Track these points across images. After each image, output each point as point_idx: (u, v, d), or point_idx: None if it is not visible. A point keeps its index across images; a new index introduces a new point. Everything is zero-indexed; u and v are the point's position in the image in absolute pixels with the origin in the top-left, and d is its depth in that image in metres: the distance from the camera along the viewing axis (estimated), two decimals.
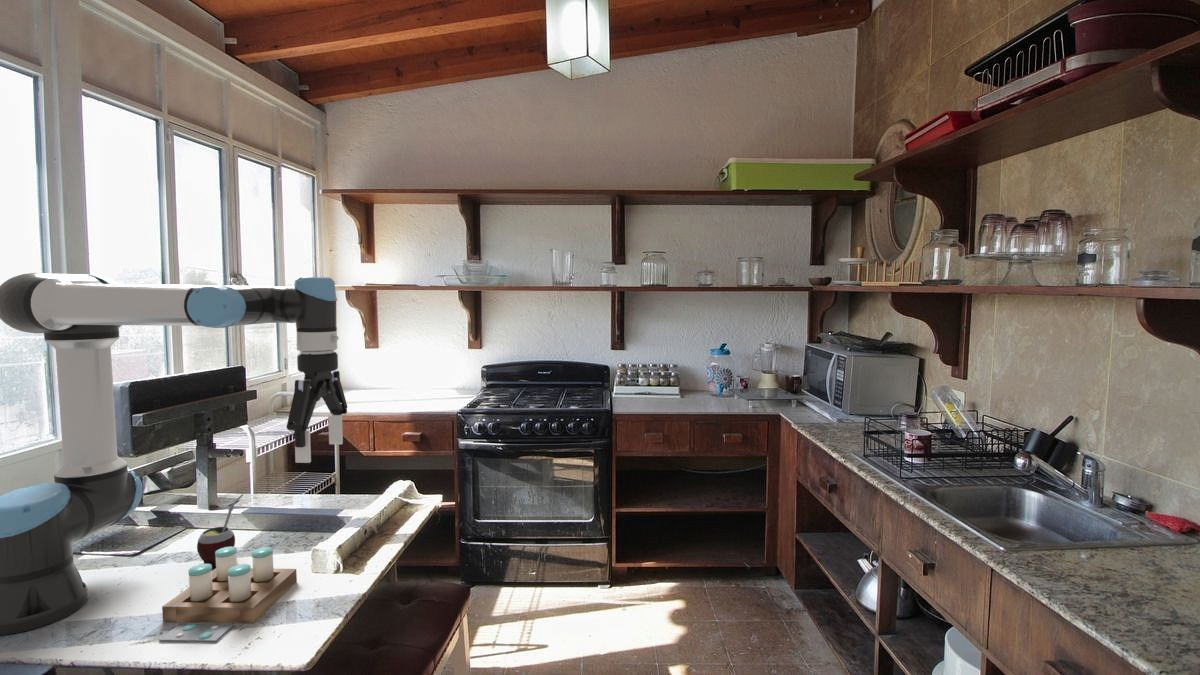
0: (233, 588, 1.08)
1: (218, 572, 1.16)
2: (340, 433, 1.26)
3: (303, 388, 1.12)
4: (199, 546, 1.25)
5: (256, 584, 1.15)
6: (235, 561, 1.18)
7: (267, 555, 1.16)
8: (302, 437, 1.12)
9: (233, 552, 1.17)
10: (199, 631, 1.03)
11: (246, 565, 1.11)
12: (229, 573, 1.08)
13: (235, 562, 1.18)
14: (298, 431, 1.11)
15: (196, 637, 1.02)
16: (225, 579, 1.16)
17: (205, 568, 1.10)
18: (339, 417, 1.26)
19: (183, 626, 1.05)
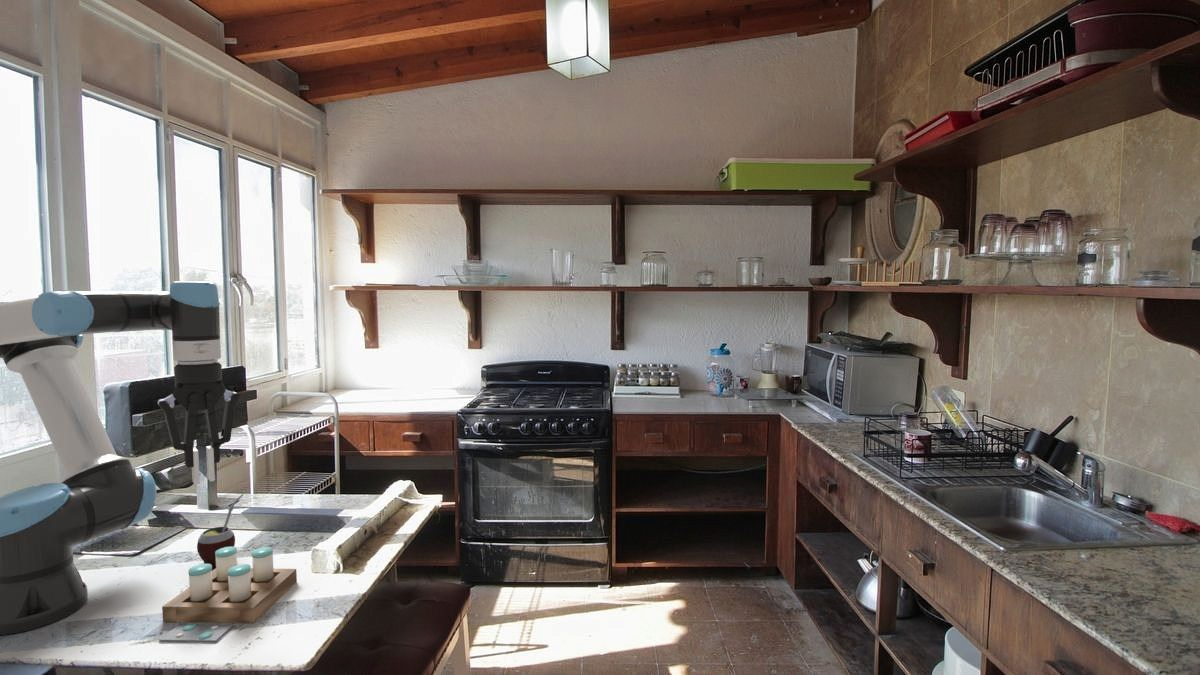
0: (233, 588, 1.08)
1: (218, 572, 1.16)
2: (209, 469, 1.12)
3: (163, 410, 1.07)
4: (199, 546, 1.25)
5: (256, 584, 1.15)
6: (235, 561, 1.18)
7: (267, 555, 1.16)
8: (187, 457, 1.10)
9: (233, 552, 1.17)
10: (199, 631, 1.03)
11: (246, 565, 1.11)
12: (229, 573, 1.08)
13: (235, 562, 1.18)
14: (184, 451, 1.10)
15: (196, 637, 1.02)
16: (225, 579, 1.16)
17: (205, 568, 1.10)
18: (208, 451, 1.12)
19: (183, 626, 1.05)
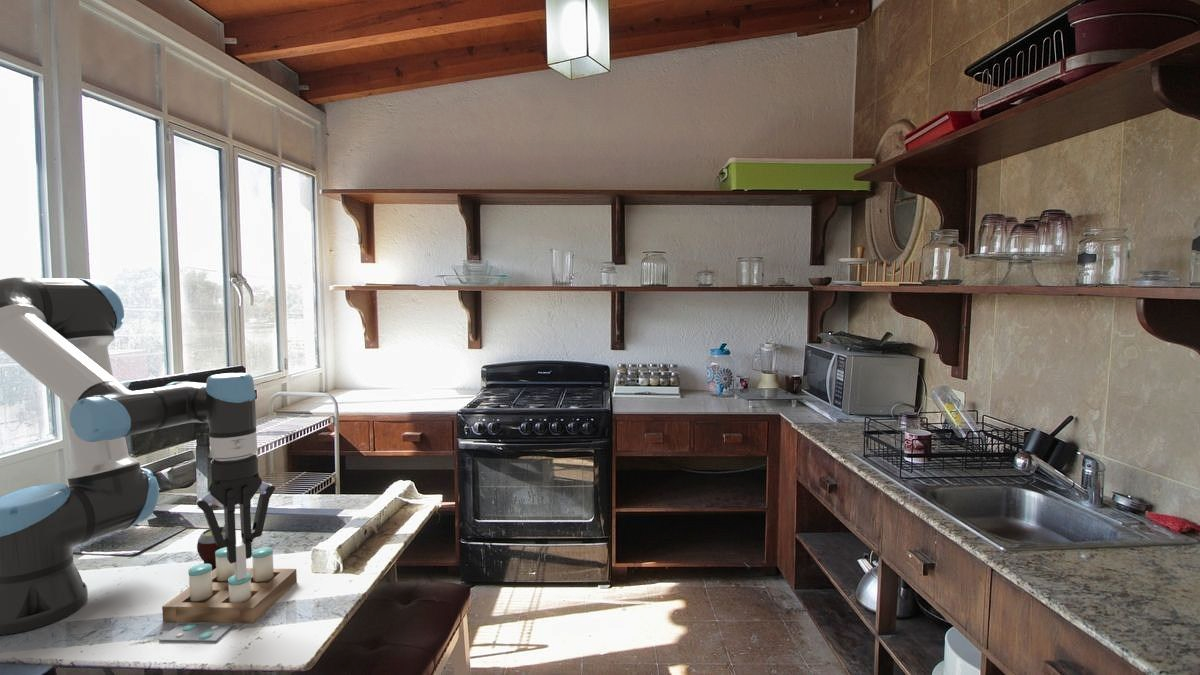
0: (233, 596, 1.08)
1: (218, 572, 1.16)
2: (241, 566, 1.09)
3: (202, 509, 1.04)
4: (199, 546, 1.25)
5: (256, 584, 1.15)
6: None
7: (267, 555, 1.16)
8: (230, 553, 1.08)
9: None
10: (199, 631, 1.03)
11: None
12: (229, 582, 1.08)
13: None
14: (226, 546, 1.08)
15: (196, 637, 1.02)
16: (225, 579, 1.16)
17: (205, 568, 1.10)
18: None
19: (183, 626, 1.05)
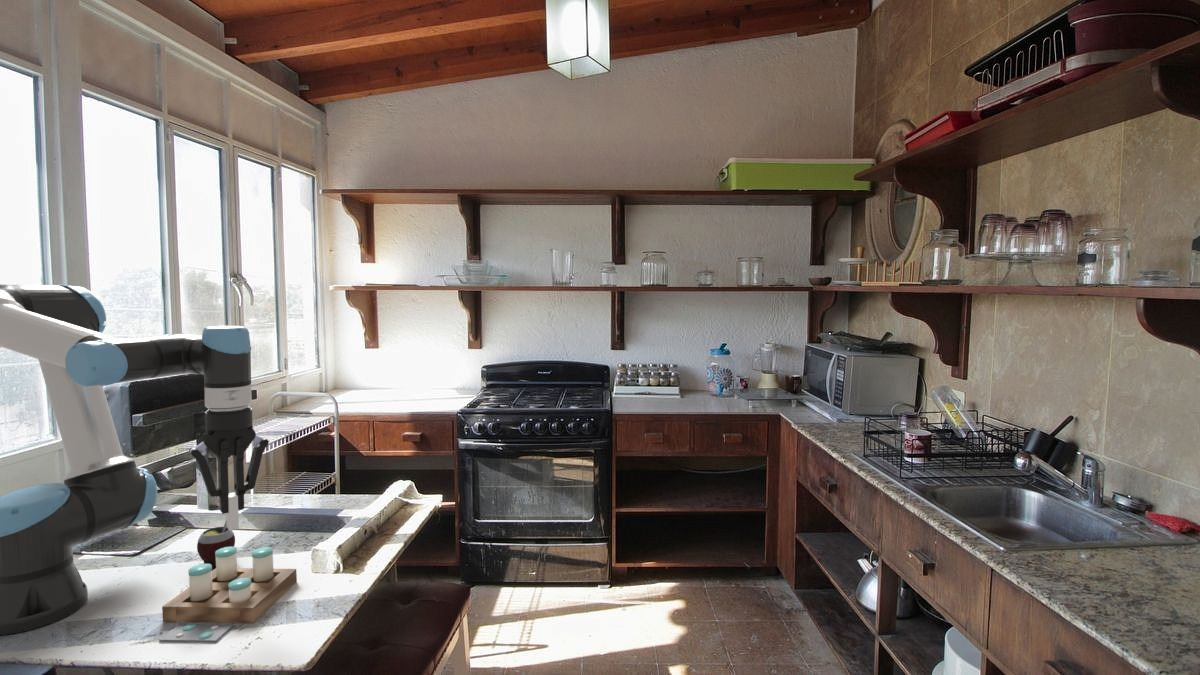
0: (234, 602, 1.09)
1: (218, 572, 1.16)
2: (233, 517, 1.10)
3: (195, 458, 1.06)
4: (199, 546, 1.25)
5: (256, 584, 1.15)
6: (235, 561, 1.18)
7: (267, 555, 1.16)
8: (222, 503, 1.09)
9: (233, 552, 1.17)
10: (199, 631, 1.03)
11: (247, 579, 1.11)
12: (230, 587, 1.08)
13: (235, 562, 1.18)
14: (219, 497, 1.09)
15: (196, 637, 1.02)
16: (225, 579, 1.16)
17: (205, 568, 1.10)
18: None
19: (183, 626, 1.05)
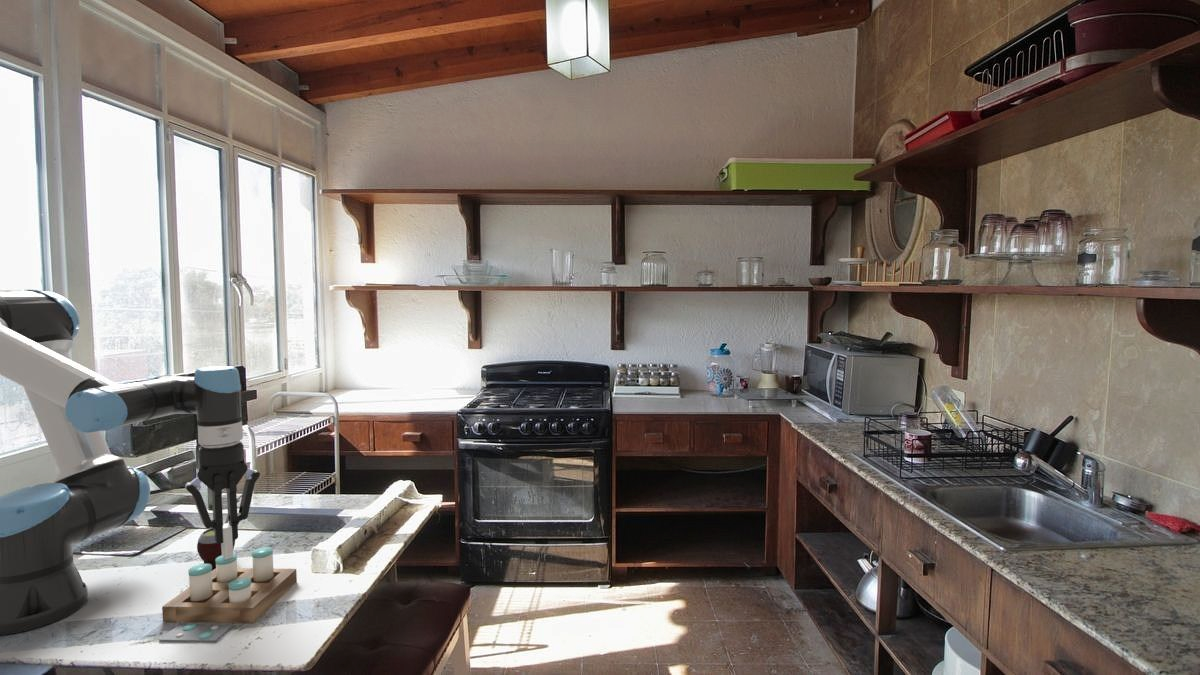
0: (234, 602, 1.09)
1: (218, 579, 1.16)
2: (228, 546, 1.16)
3: None
4: (199, 546, 1.25)
5: (256, 584, 1.15)
6: (235, 568, 1.18)
7: (267, 555, 1.16)
8: (217, 534, 1.15)
9: (233, 559, 1.17)
10: (199, 631, 1.03)
11: (247, 579, 1.11)
12: (230, 587, 1.08)
13: (236, 569, 1.18)
14: (214, 528, 1.15)
15: (196, 637, 1.02)
16: None
17: (205, 568, 1.10)
18: (227, 529, 1.16)
19: (183, 626, 1.05)
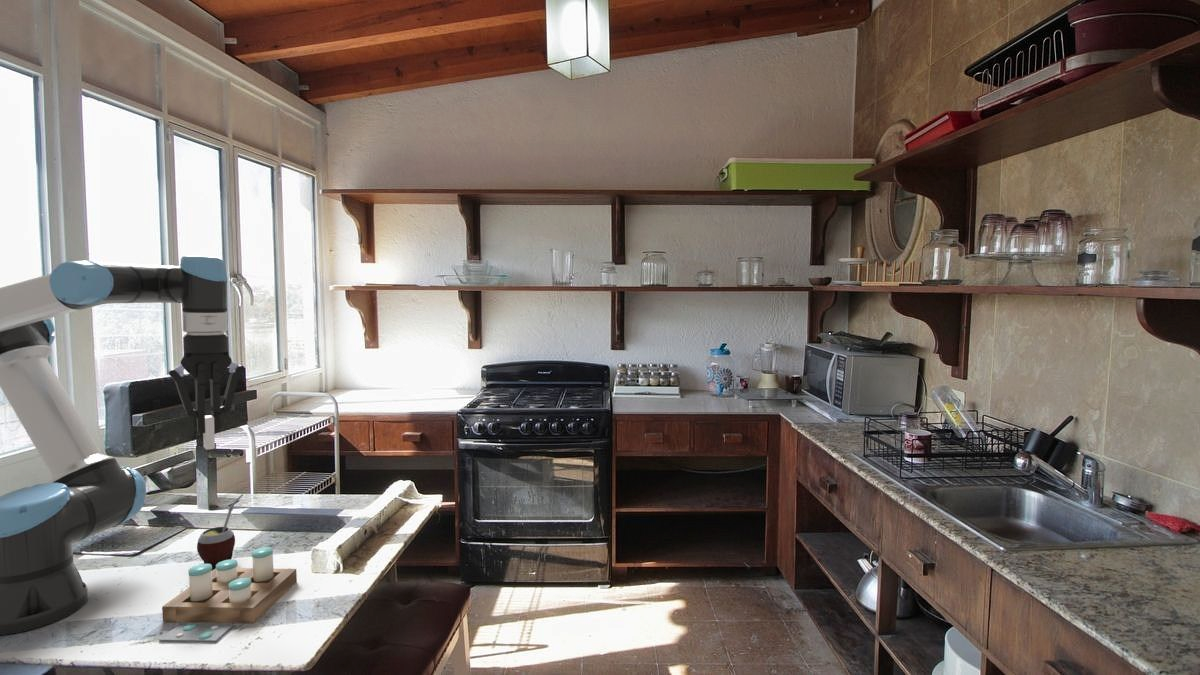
0: (234, 602, 1.09)
1: None
2: (210, 437, 1.17)
3: None
4: (199, 546, 1.25)
5: (256, 584, 1.15)
6: (236, 574, 1.18)
7: (267, 555, 1.16)
8: (199, 424, 1.16)
9: (234, 565, 1.17)
10: (199, 631, 1.03)
11: (247, 579, 1.11)
12: (230, 587, 1.08)
13: (236, 575, 1.18)
14: (196, 417, 1.16)
15: (196, 637, 1.02)
16: None
17: (205, 568, 1.10)
18: None
19: (183, 626, 1.05)
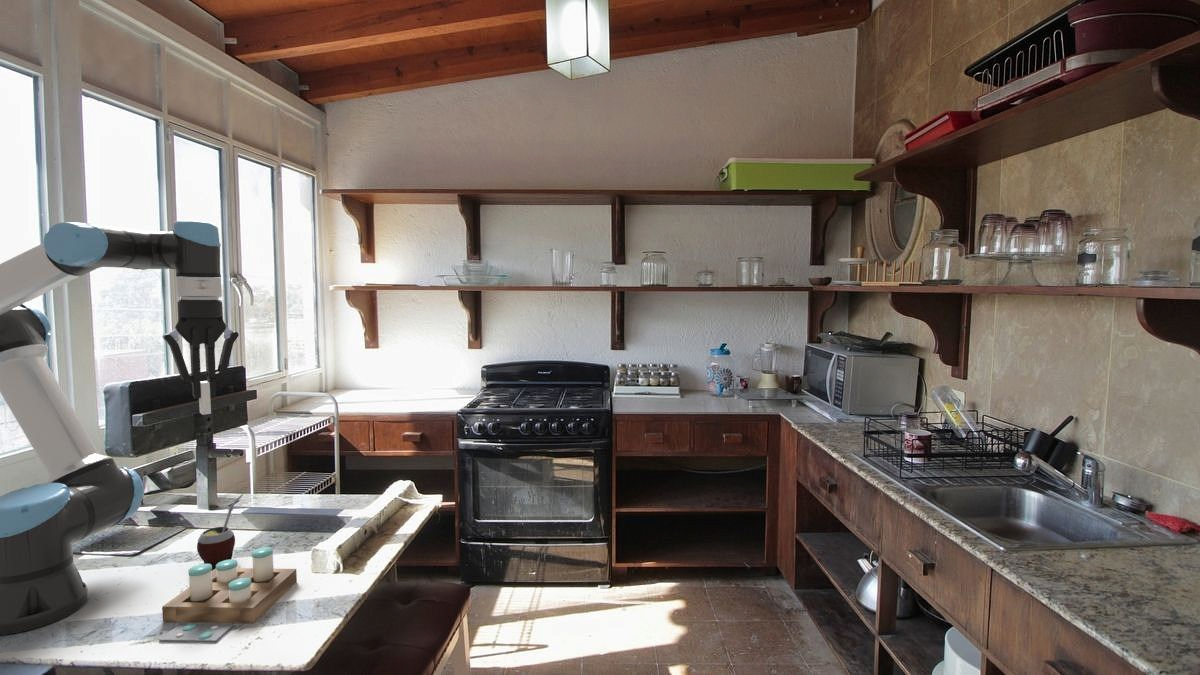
0: (234, 602, 1.09)
1: None
2: (206, 402, 1.17)
3: (168, 343, 1.13)
4: (199, 546, 1.25)
5: (256, 584, 1.15)
6: (236, 574, 1.18)
7: (267, 555, 1.16)
8: (195, 389, 1.16)
9: (234, 565, 1.17)
10: (199, 631, 1.03)
11: (247, 579, 1.11)
12: (230, 587, 1.08)
13: (236, 575, 1.18)
14: (192, 382, 1.16)
15: (196, 637, 1.02)
16: None
17: (205, 568, 1.10)
18: None
19: (183, 626, 1.05)
